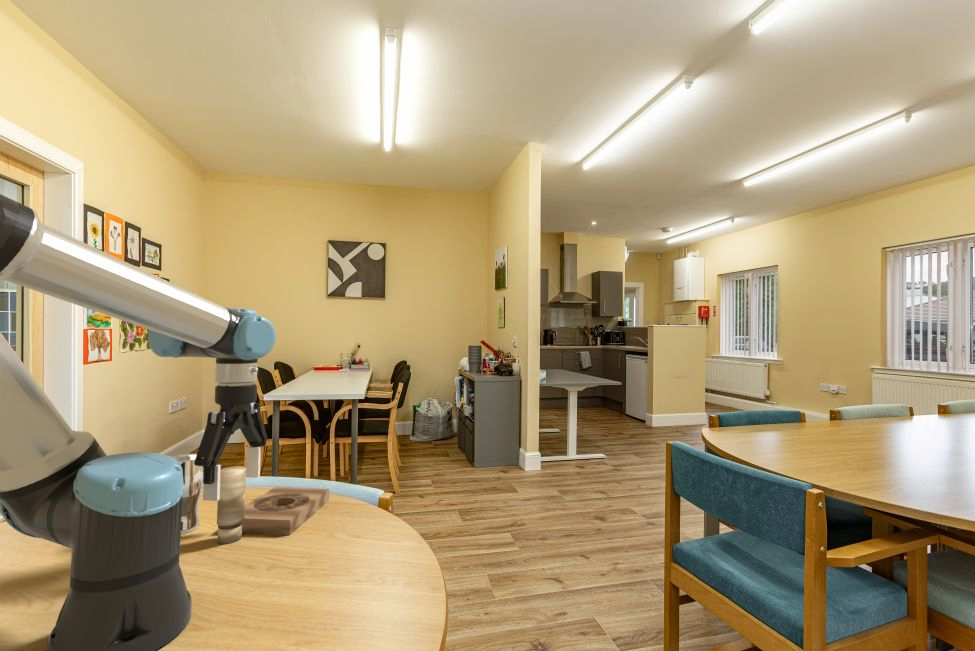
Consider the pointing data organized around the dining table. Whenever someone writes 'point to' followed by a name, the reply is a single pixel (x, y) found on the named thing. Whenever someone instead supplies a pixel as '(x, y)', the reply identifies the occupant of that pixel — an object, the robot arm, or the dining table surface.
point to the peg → (231, 504)
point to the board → (282, 510)
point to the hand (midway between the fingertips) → (233, 487)
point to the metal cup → (190, 491)
